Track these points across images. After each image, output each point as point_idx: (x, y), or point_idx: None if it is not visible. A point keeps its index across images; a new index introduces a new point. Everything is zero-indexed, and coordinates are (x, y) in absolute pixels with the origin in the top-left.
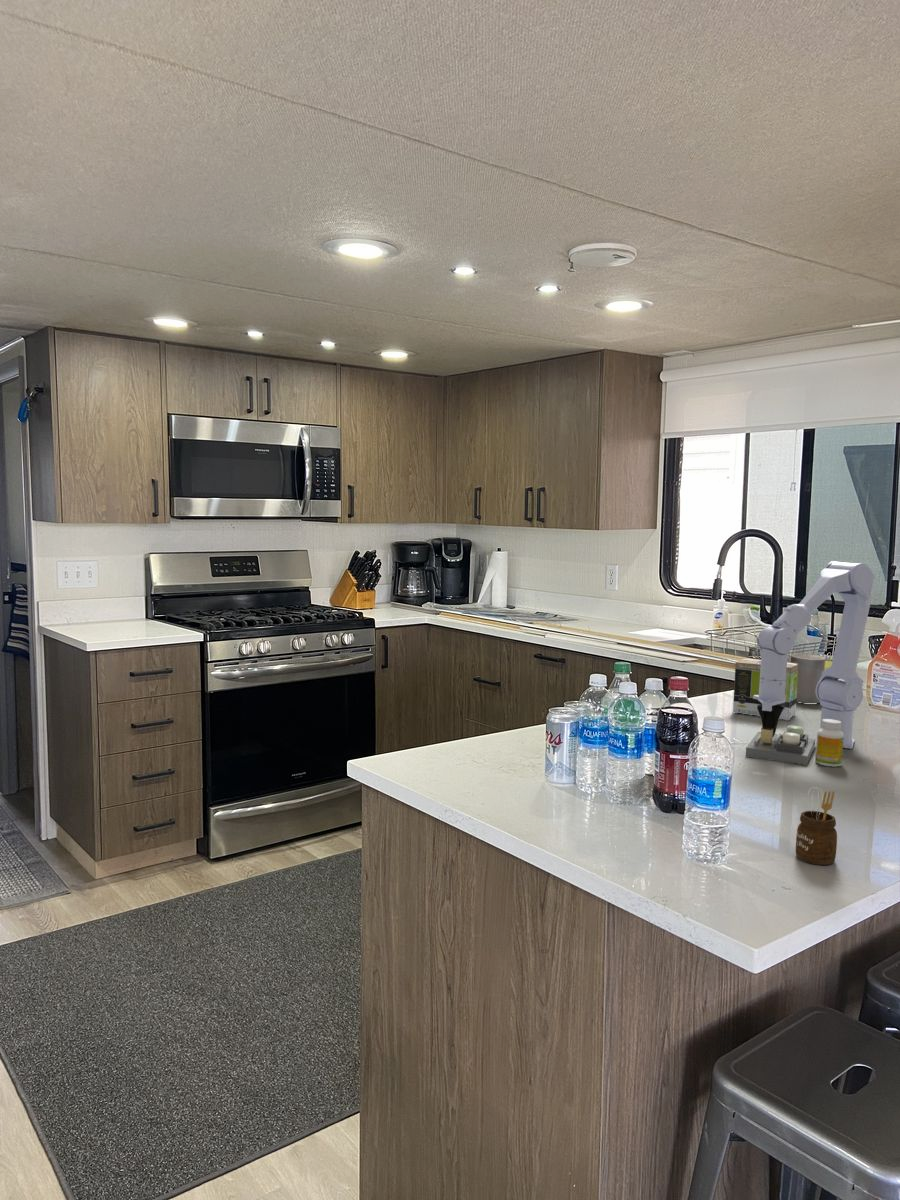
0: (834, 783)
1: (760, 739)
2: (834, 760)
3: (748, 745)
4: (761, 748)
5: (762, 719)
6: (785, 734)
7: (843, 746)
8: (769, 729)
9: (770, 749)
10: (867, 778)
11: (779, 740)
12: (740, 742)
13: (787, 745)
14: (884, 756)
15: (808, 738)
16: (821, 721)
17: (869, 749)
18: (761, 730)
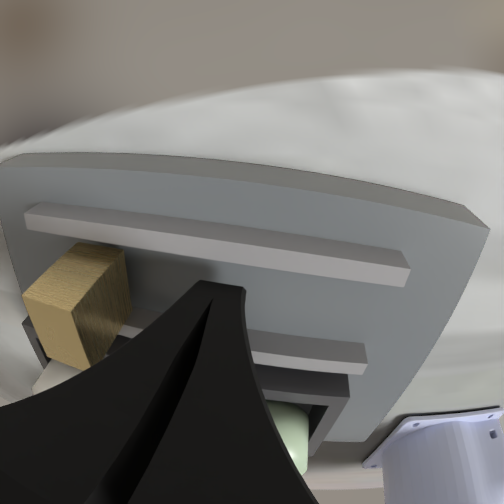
0: (4, 365)
1: (68, 250)
2: None
3: (26, 171)
4: (20, 241)
5: (95, 372)
6: (41, 391)
7: (369, 459)
8: (54, 348)
9: (35, 280)
10: None
11: None
12: (347, 79)
13: (39, 357)
14: (312, 486)
15: (371, 429)
16: (446, 485)
17: (375, 475)
18: (30, 291)
